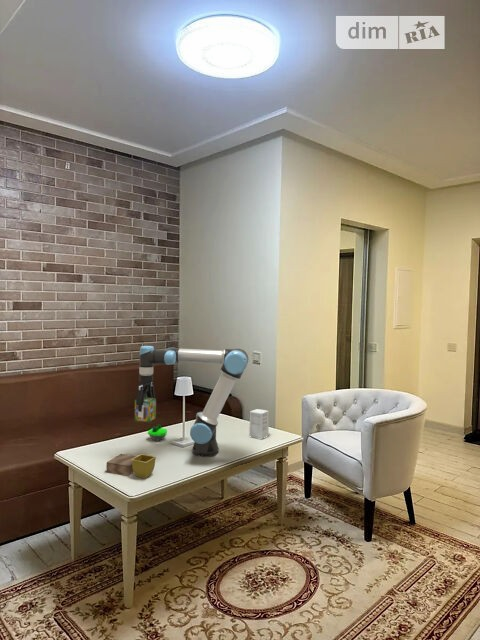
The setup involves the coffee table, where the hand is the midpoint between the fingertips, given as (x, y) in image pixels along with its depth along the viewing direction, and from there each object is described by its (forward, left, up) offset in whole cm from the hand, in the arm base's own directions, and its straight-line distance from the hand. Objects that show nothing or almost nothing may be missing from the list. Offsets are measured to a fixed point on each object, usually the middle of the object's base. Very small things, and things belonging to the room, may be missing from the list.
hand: (145, 415), depth 242 cm
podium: (+1, +19, -23) cm, 30 cm away
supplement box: (-49, -60, -24) cm, 81 cm away
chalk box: (0, 0, -3) cm, 3 cm away
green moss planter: (+8, -30, -24) cm, 39 cm away
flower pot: (-12, +23, -24) cm, 35 cm away
